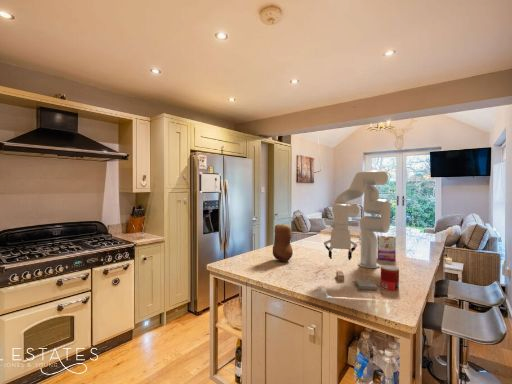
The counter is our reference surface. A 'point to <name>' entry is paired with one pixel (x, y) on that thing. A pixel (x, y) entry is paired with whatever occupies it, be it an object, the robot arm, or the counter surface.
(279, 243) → the butternut squash
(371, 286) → the tile
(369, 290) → the board
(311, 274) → the counter surface
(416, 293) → the counter surface
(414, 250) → the counter surface
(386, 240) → the candy bar box
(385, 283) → the canned food
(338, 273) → the tall wooden pillar
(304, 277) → the counter surface
